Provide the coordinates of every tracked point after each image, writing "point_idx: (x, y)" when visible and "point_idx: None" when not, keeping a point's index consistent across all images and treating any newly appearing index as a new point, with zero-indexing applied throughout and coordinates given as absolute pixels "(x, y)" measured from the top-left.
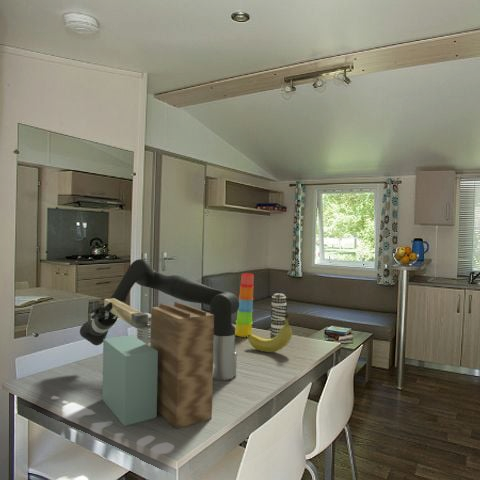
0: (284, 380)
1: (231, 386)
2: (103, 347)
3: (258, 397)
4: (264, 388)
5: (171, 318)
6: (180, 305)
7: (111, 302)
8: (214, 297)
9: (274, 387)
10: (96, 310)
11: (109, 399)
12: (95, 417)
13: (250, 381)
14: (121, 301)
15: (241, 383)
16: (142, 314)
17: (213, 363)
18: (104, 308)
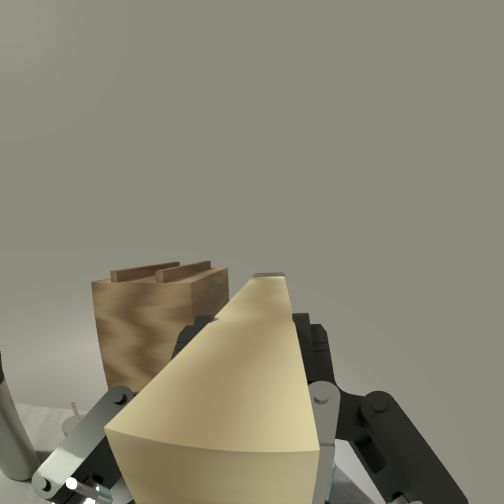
0: (17, 404)
1: (58, 445)
2: (330, 488)
3: (83, 414)
4: (50, 415)
5: (222, 275)
6: (136, 272)
7: (296, 313)
8: None
9: (43, 408)
10: (411, 448)
11: None
12: (343, 497)
13: (29, 431)
14: (212, 315)
15: (41, 438)
16: (264, 273)
17: (68, 419)
18: (340, 397)
